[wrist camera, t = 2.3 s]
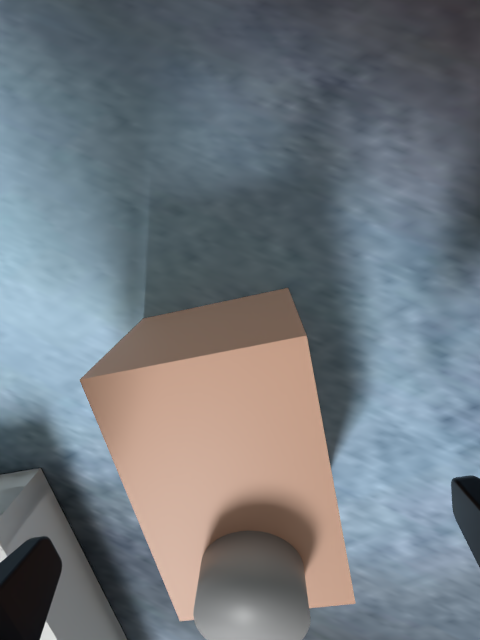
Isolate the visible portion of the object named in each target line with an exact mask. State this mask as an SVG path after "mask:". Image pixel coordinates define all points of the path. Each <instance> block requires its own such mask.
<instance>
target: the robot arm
mask: <svg viewBox="0 0 480 640" xmlns="http://www.w3.org/2000/svg"><path fill="white" fill-rule="evenodd" d="M451 490H452V508H453V513H454V516H455V519H456V521H457V523H458V525H459V527H460V529H461V531H462V533H463V535H464V537H465V539H466V541H467V543H468V545H469V547H470V549H471V551H472V553H473V555H474V557H475V559H476V561H477V563H478V565H479V567H480V479H479V478H478V477H475V476H463V477H456V478H453V479H452V481H451ZM61 572H62V560H61V558H60V556H59V554H58V552H57V550H56V549H55V547H54V545H53V543H52V541H51V539H50V538H49V537H47V536H41V537H34V538H30V539H28V540H27V541H25V542H24V543H23V544H22V545H20V546H19V547H18V548H17V549H16V550H15V551H13V552H12V553H11V554H10V555H9V556H7V557H6V558H5V559H4V560H3V561H2V562H0V640H40V638H41V635H42V631H43V628H44V625H45V622H46V619H47V616H48V613H49V610H50V606H51V603H52V600H53V597H54V594H55V591H56V588H57V585H58V581H59V578H60V575H61Z"/></svg>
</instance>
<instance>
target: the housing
mask: <svg viewBox="0 0 480 640" xmlns="http://www.w3.org/2000/svg"><path fill="white" fill-rule="evenodd" d="M41 536H47V537H49V538H50V539H51V541H52V543H53V545H54V547H55V549H56V550H57V552H58V554H59V556H60V558H61V560H62V572H61V575H60V578H59V581H58V585H57V588H56V591H55V594H54V597H53V600H52V603H51V606H50V610H49V613H48V616H47V619H46V622H45V625H44V628H43V631H42V635H41V638H40V640H127V638H126V636H125V634H124V632H123V630H122V628H121V626H120V624H119V622H118V620H117V618H116V616H115V614H114V612H113V610H112V608H111V606H110V604H109V602H108V600H107V599H106V597H105V595H104V593H103V591H102V589H101V587H100V585H99V583H98V581H97V579H96V577H95V575H94V573H93V571H92V569H91V567H90V565H89V563H88V561H87V559H86V557H85V555H84V553H83V551H82V549H81V547H80V545H79V543H78V541H77V539H76V537H75V535H74V533H73V531H72V529H71V527H70V525H69V523H68V521H67V519H66V517H65V515H64V513H63V511H62V509H61V507H60V505H59V503H58V501H57V499H56V497H55V495H54V493H53V491H52V490H51V488H50V486H49V484H48V482H47V480H46V478H45V476H44V474H43V472H42V470H41V468H37V469H31V470H25V471H19V472H13V473H7V474H1V475H0V562H2V561H3V560H4V559H5V558H6V557H7V556H9V555H10V554H11V553H12V552H13V551H15V550H16V549H17V548H18V547H19V546H20V545H22V544H23V543H24V542H25V541H27V540H28V539H30V538H34V537H41Z"/></svg>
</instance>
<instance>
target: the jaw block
mask: <svg viewBox="0 0 480 640" xmlns="http://www.w3.org/2000/svg"><path fill="white" fill-rule="evenodd" d="M80 382H81V384H82V387H83V389H84V391H85V394H86V396H87V399H88V401H89V403H90V406H91V408H92V411H93V413H94V415H95V418H96V420H97V423H98V425H99V427H100V430H101V432H102V435H103V437H104V440H105V442H106V444H107V447H108V449H109V452H110V454H111V456H112V459H113V461H114V464H115V466H116V468H117V471H118V473H119V476H120V478H121V480H122V483H123V485H124V488H125V490H126V492H127V495H128V497H129V500H130V502H131V504H132V507H133V509H134V512H135V514H136V516H137V519H138V521H139V524H140V526H141V528H142V531H143V533H144V536H145V538H146V540H147V543H148V545H149V548H150V550H151V552H152V555H153V557H154V560H155V562H156V564H157V567H158V569H159V572H160V574H161V577H162V579H163V581H164V584H165V586H166V589H167V591H168V593H169V596H170V598H171V601H172V603H173V605H174V608H175V610H176V613H177V615H178V617H179V620H180V621H187V620H194V621H195V625H196V627H197V629H198V630H199V632H200V633H201V634H202V635H203V636H204V637H205V638H206V639H207V640H302V639H303V638H304V636H305V635H306V634H307V631H308V629H309V626H310V611H309V608H316V607H326V606H336V605H346V604H355V598H354V593H353V587H352V582H351V576H350V571H349V565H348V560H347V554H346V549H345V543H344V538H343V532H342V527H341V521H340V516H339V510H338V505H337V499H336V494H335V488H334V483H333V477H332V472H331V466H330V461H329V455H328V450H327V444H326V439H325V433H324V428H323V422H322V417H321V411H320V406H319V400H318V395H317V389H316V384H315V378H314V373H313V367H312V362H311V356H310V351H309V345H308V340H307V335H306V332H305V330H304V327H303V325H302V322H301V320H300V317H299V315H298V312H297V309H296V307H295V304H294V302H293V299H292V297H291V294H290V291H289V289H288V288H285V289H280V290H275V291H270V292H266V293H261V294H256V295H252V296H247V297H242V298H238V299H233V300H228V301H223V302H219V303H214V304H209V305H205V306H200V307H195V308H191V309H186V310H181V311H176V312H172V313H167V314H162V315H158V316H153V317H148V318H143V319H142V320H141V321H140V322H139V323H138V324H137V325H136V326H135V327H134V328H133V329H132V330H131V331H130V332H129V333H128V334H127V335H126V336H125V337H123V338H122V339H121V340H120V341H119V342H118V343H117V344H116V345H115V346H114V347H113V348H112V349H111V350H110V351H109V352H108V353H107V354H106V355H105V356H104V357H103V358H102V359H101V360H100V361H99V362H98V363H96V364H95V365H94V366H93V367H92V368H91V369H90V370H89V371H88V372H87V373H86V374H85V375H84V376H83V377H82V378H81V379H80Z"/></svg>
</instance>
